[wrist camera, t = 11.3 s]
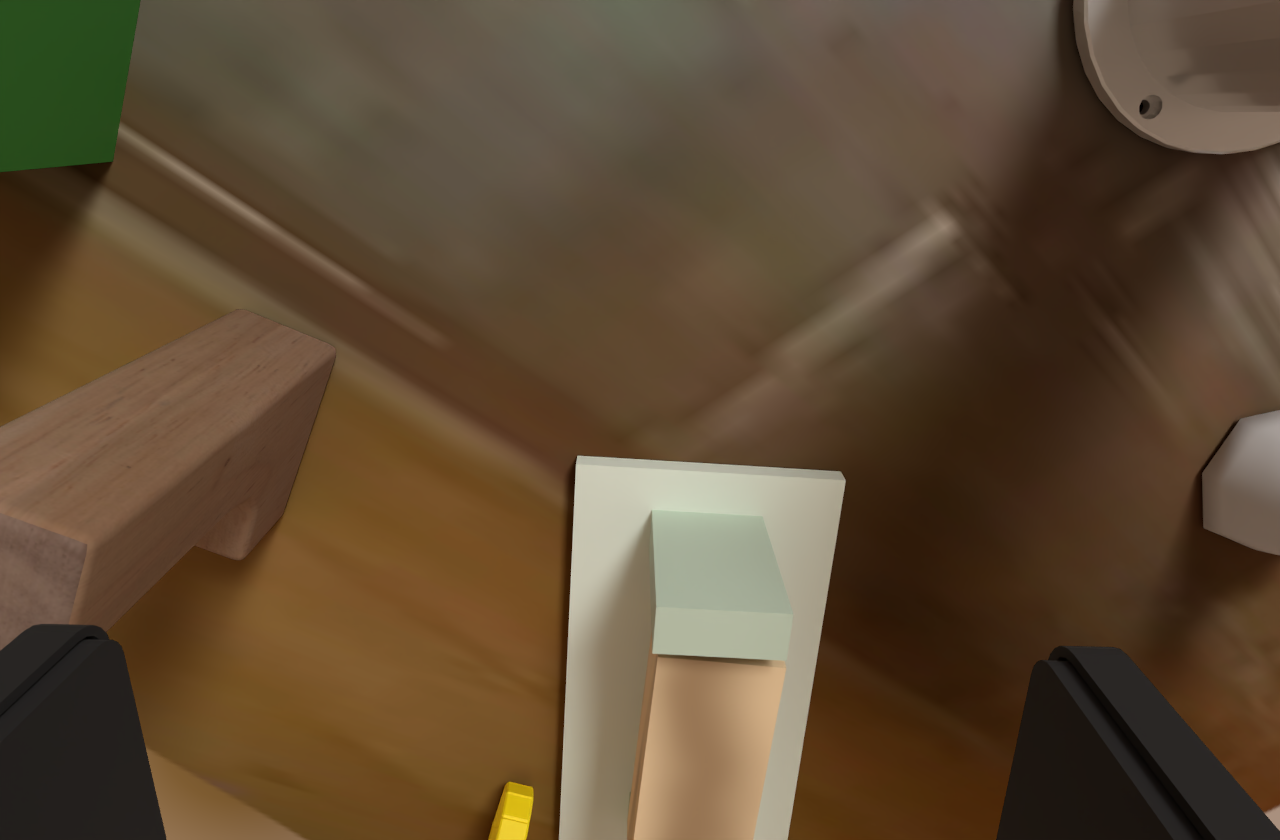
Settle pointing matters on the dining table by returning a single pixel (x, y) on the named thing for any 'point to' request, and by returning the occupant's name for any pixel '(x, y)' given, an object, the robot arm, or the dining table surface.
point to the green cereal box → (62, 80)
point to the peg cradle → (688, 610)
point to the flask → (1246, 485)
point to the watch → (513, 813)
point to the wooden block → (153, 469)
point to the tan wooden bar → (703, 746)
